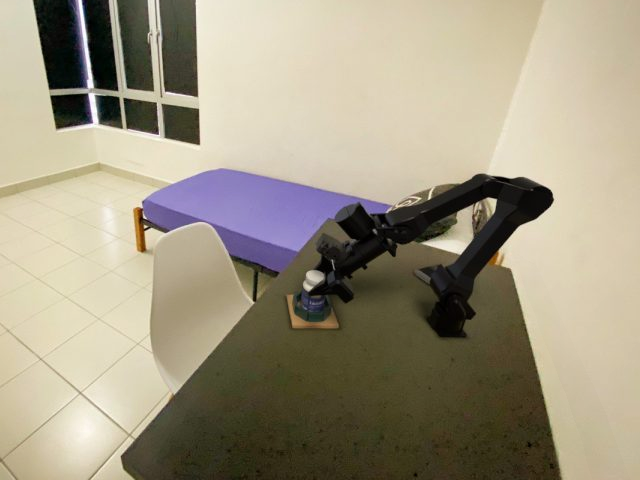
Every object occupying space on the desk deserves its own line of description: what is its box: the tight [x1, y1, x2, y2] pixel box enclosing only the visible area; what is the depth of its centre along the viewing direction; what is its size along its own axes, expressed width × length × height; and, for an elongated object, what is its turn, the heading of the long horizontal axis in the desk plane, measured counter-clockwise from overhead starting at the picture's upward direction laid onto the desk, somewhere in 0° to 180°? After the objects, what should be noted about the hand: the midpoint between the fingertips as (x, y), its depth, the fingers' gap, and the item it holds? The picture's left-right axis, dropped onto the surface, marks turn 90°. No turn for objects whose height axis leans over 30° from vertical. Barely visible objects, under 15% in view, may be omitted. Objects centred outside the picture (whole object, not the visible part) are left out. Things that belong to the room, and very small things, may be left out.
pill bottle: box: [300, 269, 326, 312], centre depth 81 cm, size 6×6×10 cm
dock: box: [285, 289, 340, 329], centre depth 83 cm, size 11×11×4 cm
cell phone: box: [414, 264, 440, 285], centre depth 100 cm, size 6×11×1 cm, turn 113°
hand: (308, 286), depth 81 cm, fingers closed on pill bottle, 6 cm apart
